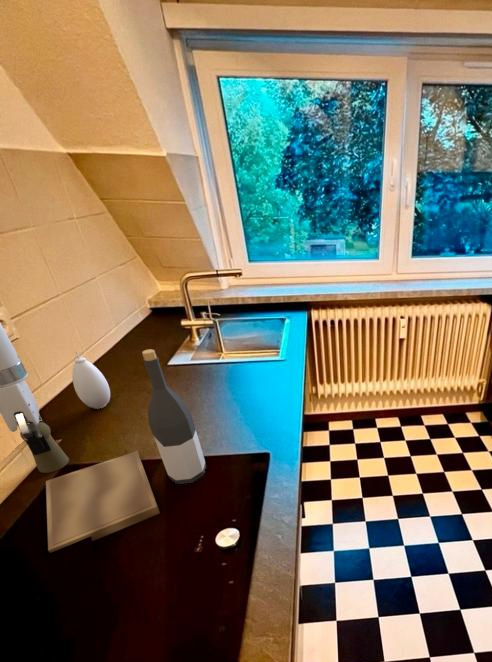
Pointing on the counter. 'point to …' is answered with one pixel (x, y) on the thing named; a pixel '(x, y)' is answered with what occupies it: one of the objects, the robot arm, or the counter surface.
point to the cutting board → (98, 501)
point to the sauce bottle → (90, 384)
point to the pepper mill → (49, 452)
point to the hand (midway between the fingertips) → (42, 443)
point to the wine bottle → (173, 427)
